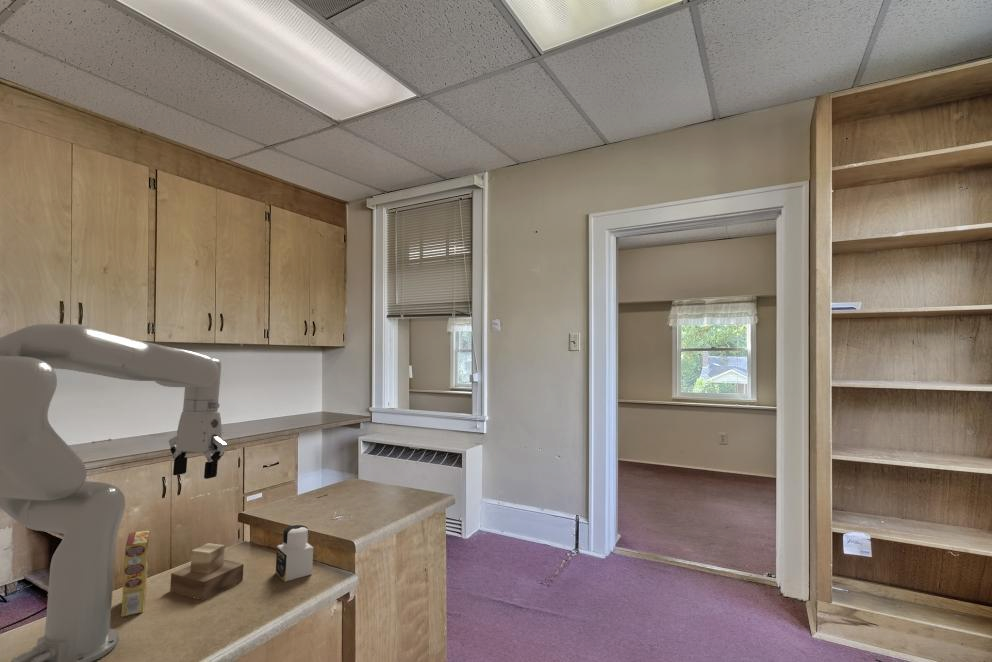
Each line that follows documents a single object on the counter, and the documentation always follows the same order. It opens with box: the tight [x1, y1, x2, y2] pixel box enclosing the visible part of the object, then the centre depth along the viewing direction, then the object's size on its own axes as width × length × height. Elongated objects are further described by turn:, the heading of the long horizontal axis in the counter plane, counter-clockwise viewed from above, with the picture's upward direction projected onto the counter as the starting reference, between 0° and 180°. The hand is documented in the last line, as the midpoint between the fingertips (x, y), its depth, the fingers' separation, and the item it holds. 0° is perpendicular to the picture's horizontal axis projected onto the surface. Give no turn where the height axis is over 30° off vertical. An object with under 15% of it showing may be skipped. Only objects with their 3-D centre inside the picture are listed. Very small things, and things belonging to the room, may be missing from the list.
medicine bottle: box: [275, 524, 314, 582], centre depth 128 cm, size 7×7×12 cm
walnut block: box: [169, 559, 245, 601], centre depth 120 cm, size 11×11×4 cm
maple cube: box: [190, 542, 226, 574], centre depth 120 cm, size 5×5×5 cm
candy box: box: [120, 530, 150, 617], centre depth 109 cm, size 9×4×15 cm, turn 33°
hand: (194, 476), depth 121 cm, fingers open, 9 cm apart
